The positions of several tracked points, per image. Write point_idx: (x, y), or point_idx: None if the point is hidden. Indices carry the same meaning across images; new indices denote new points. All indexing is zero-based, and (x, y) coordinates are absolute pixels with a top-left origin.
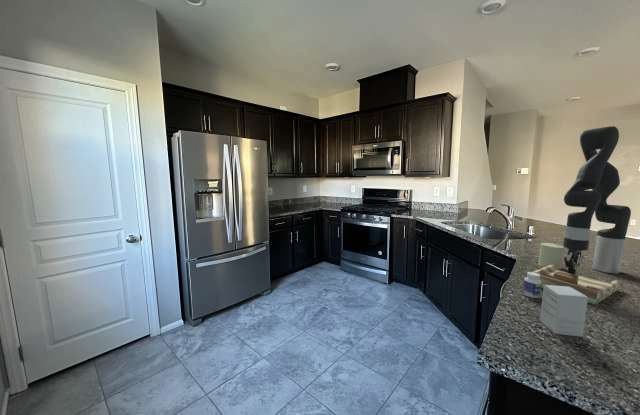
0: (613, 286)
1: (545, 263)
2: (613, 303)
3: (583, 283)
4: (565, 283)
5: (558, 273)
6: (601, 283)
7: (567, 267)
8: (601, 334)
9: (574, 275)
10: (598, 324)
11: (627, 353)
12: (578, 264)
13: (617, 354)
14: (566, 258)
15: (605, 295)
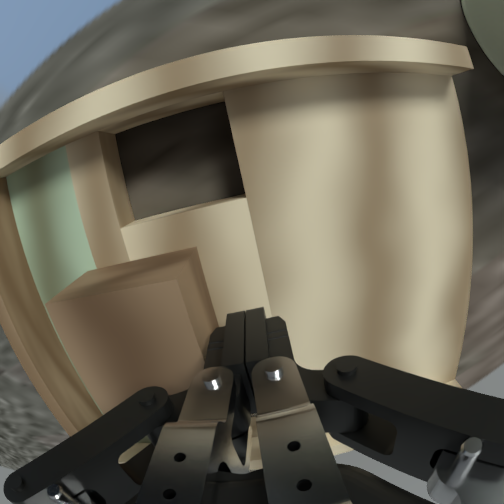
0: None
1: (484, 9)
2: None
3: (308, 351)
4: (39, 389)
5: (80, 322)
6: (418, 367)
7: (200, 371)
8: (13, 448)
9: None
10: (31, 445)
11: (16, 467)
12: (337, 439)
13: (3, 458)
14: (20, 499)
15: None
